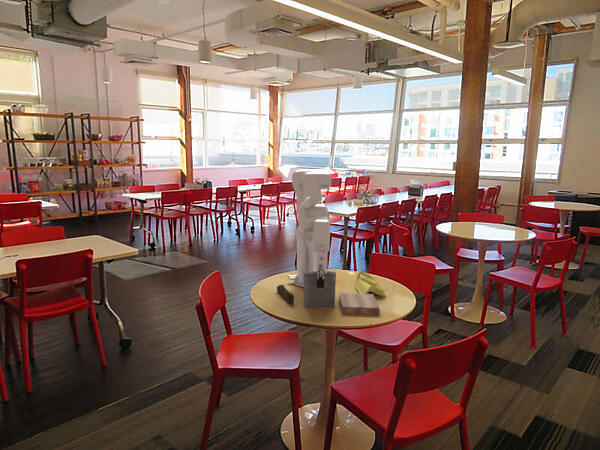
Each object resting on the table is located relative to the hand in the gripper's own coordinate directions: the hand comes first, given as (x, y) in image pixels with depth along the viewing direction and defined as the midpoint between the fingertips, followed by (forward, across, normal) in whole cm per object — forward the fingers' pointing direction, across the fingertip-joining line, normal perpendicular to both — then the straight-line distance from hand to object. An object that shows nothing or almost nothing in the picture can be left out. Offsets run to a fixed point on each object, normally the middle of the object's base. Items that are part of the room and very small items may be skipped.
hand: (319, 284), depth 185 cm
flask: (+10, +1, 0) cm, 11 cm away
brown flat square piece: (+10, +1, -18) cm, 21 cm away
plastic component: (+10, +23, -26) cm, 36 cm away
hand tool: (+11, +9, +15) cm, 20 cm away
